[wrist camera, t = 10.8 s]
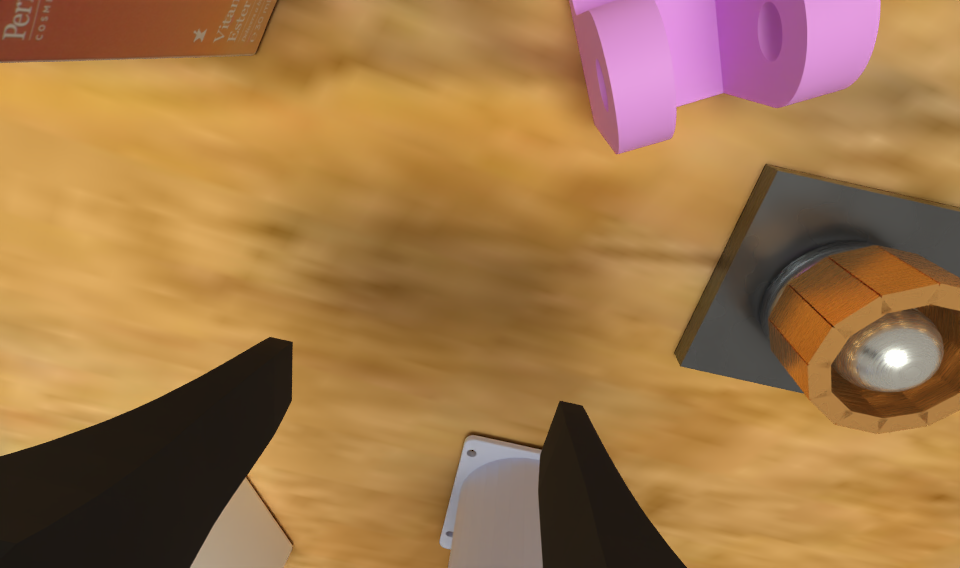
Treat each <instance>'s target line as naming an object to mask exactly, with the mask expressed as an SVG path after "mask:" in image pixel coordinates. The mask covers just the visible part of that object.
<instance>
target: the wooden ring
mask: <svg viewBox="0 0 960 568" xmlns="http://www.w3.org/2000/svg"><path fill="white" fill-rule="evenodd" d="M789 284H790V285H788V284H787V286H786V287H785V289H784V291H783V293H782V294H781V296H780V298H779V300H778V301H777V303H776V305H775V306H774V308H773V310H772V312H771V313H770V315H769V317H768V318H769V319H768V325H769V337H770V348H771V351H772V352H773V353H774V355H775V356H776V357H777V359H778V360H779V361H780V363H781V364H782V365H783V366H784V368H785V369H786V370H787V372H788V373H789V374H790V376H791V377H792V378H793V379H794V381H795V382H796V383H797V385H798V386H799V387H800V389H801V390H802V391H803V392H804V394H805V395H806V396H807V398H808V399H809V400H810V401H811V402H812V403H813V404H814V405H815V406H816V407H817V408H818V409H819V410H820V411H821V412H822V413H823V414H824V415H825V416H826V417H827V418H828V419H829V420H831V421H832V422H833V423H834V424H835V425H839V426H843V427H848V428H853V429H857V430H862V431H866V432H871V433H875V434H877V433H878V434H880V433H887V432H893V431H900V430H906V429H913V428H919V427H926V426H927V425H928V426H929V425H931V424H933V423H935V422H937V421H939V420H941V419H943V418H945V417H947V416H949V415H951V414H953V413H955V412H957V411H959V410H960V278H959V277H958V276H956V275H954V274H952V273H950V272H949V271H947V270H945V269H943V268H941V267H940V266H938V265H936V264H934V263H933V262H931V261H929V260H927V259H925V258H924V257H922V256H920V255H918V254H915V253H910V252H906V251H901V250H897V249H892V248H888V247H884V246H879V245H872V246H868V247H864V248H859V249H855V250H851V251H847V252H842V253H838V254H834V255H829V256H828V258H827V257H825V258H824V259H822V260H821V261H819V262H818V263H816V264H815V265H814V266H812V267H811V268H809V269H808V270H806V271H805V272H804V273H802V274H801V275H799V276H798V277H796V278H795V279H794V280H792V281H791V282H789ZM912 308H917V310H919V311H920V312H921V313H923V314H924V315H925V316H927V317H928V318H929V319H930V320H931V321H932V322H933V323H934V325H935V326H936V327H937V329H938V331H939V333H940V335H941V337H942V341H943V345H944V354H943V359H942V362H941V365H940V367H939V368H938V370H937V371H936V373H935V374H934V375H933V376H932V377H931V378H930V379H929V380H927V381H926V382H925V383H923V384H921V385H919V386H917V387H915V388H912V389H909V390H905V391H900V392H878V391H871V390H868V389H865V388H861V387H859V386H857V385H855V384H852V383H851V382H849V381H847V380H846V379H844V378H843V377H842V376H841V375H840V374H839V373H837V372H836V371H835V370H834V368H833V367H832V366H831V364H832V362H833V361H834V360H835V358H836V357H837V355H838V354H839V352H840V351H841V349H842V348H843V346H844V345H845V343H846V342H847V341H848V339H849V338H850V336H852V335H853V334H855V333H856V332H858V331H860V330H861V329H863V328H865V327H866V326H868V325H869V324H871V323H873V322H874V321H876V320H878V319H879V318H881V317H882V316H884V315H886V314H887V313H892V312H897V311H902V310H907V309H912Z"/></svg>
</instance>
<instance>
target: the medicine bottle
mask: <svg viewBox="0 0 960 568" xmlns="http://www.w3.org/2000/svg"><path fill="white" fill-rule="evenodd" d="M291 550H292V544H291V542H290V541H289V539H288V538H287V536H286V535H285V534H284V532H283V531H282V529H281V528H280V526H279V525H278V523H277V522H276V520H275V519H274V518H273V516H272V515H271V513H270V512H269V510H268V509H267V507H266V506H265V504H264V503H263V501H262V500H261V499H260V497H259V496H258V494H257V493H256V491H255V490H254V488H253V487H252V485H251V484H250V483H249V481H248V480H247V478H246V477H245V479H244V480H243V482H242V483H241V485H240V486H239V488H238V489H237V491H236V492H235V493H234V495H233V496H232V498H231V499H230V501H229V502H228V504H227V505H226V507H225V508H224V510H223V511H222V513H221V514H220V516H219V518H218V519H217V521H216V522H215V524H214V526H213V527H212V529H211V531H210V533H209V534H208V536H207V538H206V540H205V542H204V543H203V545H202V547H201V549H200V551H199V552H198V554H197V556H196V558H195V560H194V561H193V563H192V565H191V567H190V568H284V565H285V563H286V561H287V559H288V557H289V555H290V553H291Z"/></svg>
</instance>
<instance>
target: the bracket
mask: <svg viewBox="0 0 960 568" xmlns="http://www.w3.org/2000/svg"><path fill="white" fill-rule="evenodd" d="M569 3H570V8H571V13H572V18H573V22H574V27H575V32H576V37H577V42H578V47H579V51H580V56H581V61H582V66H583V71H584V76H585V81H586V85H587V90H588V95H589V100H590V105H591V110H592V114H593V119H594V124H595V126H596V127H597V129H598V130H599V131H600V133H601V134H602V135H603V137H604V138H605V140H606V141H607V142H608V144H609V145H610V147H611V148H612V149H613V151H614V152H615V153H616V154H620V153H623V152H627V151H630V150H634V149H637V148H641V147H644V146H648V145H651V144H655V143H658V142H662V141H665V140H668V139H671V138H672V136H673V134H674V130H675V125H676V107H678V106H681V105H685V104H688V103H691V102H695V101H698V100H701V99H705V98H708V97H711V96H715V95H718V94H721V93H726V94H729V95H733V96H736V97H740V98H743V99H747V100H750V101H754V102H757V103H761V104H764V105H768V106H771V107H775V108H779V107H783V106H787V105H790V104H794V103H797V102H801V101H804V100H808V99H811V98H815V97H818V96H822V95H825V94H829V93H832V92H836V91H839V90H842V89H845V88H847V87H849V86H850V85H851V84H853V83H854V82H855V81H856V80H857V79H858V78H859V76H860V75H861V74H862V72H863V71H864V69H865V67H866V65H867V63H868V61H869V59H870V57H871V54H872V52H873V48H874V45H875V42H876V37H877V33H878V27H879V19H880V0H569Z"/></svg>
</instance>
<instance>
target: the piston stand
mask: <svg viewBox="0 0 960 568" xmlns="http://www.w3.org/2000/svg"><path fill="white" fill-rule="evenodd" d="M872 245H879V246H884V247H888V248H892V249H897V250H901V251H906V252H910V253H915V254H918V255H920V256H922V257H924V258H925V259H927V260H929V261H931V262H933V263H934V264H936V265H938V266H940V267H941V268H943V269H945V270H947V271H949V272H950V273H952V274H954V275H956V276H958V277H959V278H960V208H958V207H954V206H950V205H945V204H941V203H936V202H932V201H927V200H923V199H918V198H914V197H910V196H905V195H901V194H896V193H892V192H887V191H883V190H878V189H874V188H870V187H865V186H861V185H856V184H852V183H847V182H843V181H838V180H834V179H830V178H825V177H821V176H816V175H812V174H807V173H803V172H798V171H794V170H790V169H785V168H781V167H776V166H772V165H767V164H766V165H765V167H764V169H763V171H762V173H761V176H760V178H759V180H758V182H757V184H756V186H755V188H754V190H753V192H752V194H751V196H750V198H749V200H748V202H747V204H746V207H745V209H744V211H743V213H742V215H741V217H740V219H739V221H738V223H737V225H736V227H735V229H734V231H733V233H732V235H731V237H730V240H729V242H728V244H727V246H726V248H725V250H724V252H723V254H722V256H721V258H720V260H719V262H718V264H717V266H716V268H715V270H714V273H713V275H712V277H711V279H710V281H709V283H708V285H707V287H706V289H705V291H704V293H703V295H702V297H701V299H700V301H699V304H698V306H697V308H696V310H695V312H694V314H693V316H692V318H691V320H690V322H689V324H688V326H687V328H686V330H685V332H684V334H683V337H682V339H681V341H680V343H679V345H678V347H677V349H676V351H675V355H676V358H677V360H678V362H679V364H680V366H682V367H686V368H691V369H695V370H700V371H704V372H709V373H713V374H718V375H722V376H727V377H731V378H736V379H740V380H745V381H750V382H754V383H759V384H763V385H768V386H772V387H777V388H781V389H786V390H790V391H795V392H799V393H804V392H803V391H802V390H801V389H800V387H799V386H798V385H797V383H796V382H795V381H794V379H793V378H792V377H791V376H790V374H789V373H788V372H787V370H786V369H785V368H784V366H783V365H782V364H781V363H780V361H779V360H778V359H777V357H776V356H775V355H774V353H773V352H772V351H771V348H770V337H769V325H768V319H769V318H768V317H769V315H770V313H771V312H772V310H773V308H774V306H775V305H776V303H777V301H778V300H779V298H780V296H781V294H782V293H783V291H784V289H785V287H786V286H787V284H788V285H790V284H789V282H791V281H792V280H794V279H795V278H796V277H798V276H799V275H801V274H802V273H804V272H805V271H806V270H808V269H809V268H811V267H812V266H814V265H815V264H816V263H818V262H819V261H821V260H822V259H824V258H825V257H827V258H828V256H829V255H834V254H838V253H842V252H847V251H851V250H855V249H859V248H864V247H868V246H872ZM943 354H944V345H943V341H942V337H941V335H940V333H939V331H938V329H937V327H936V326H935V325H934V323H933V322H932V321H931V320H930V319H929V318H928V317H927V316H925V315H924V314H923V313H921V312H920V311H919V310H917V308H912V309H907V310H902V311H897V312H892V313H887V314H886V315H884V316H882V317H881V318H879V319H878V320H876V321H874V322H873V323H871V324H869V325H868V326H866V327H865V328H863V329H861V330H860V331H858V332H856V333H855V334H853V335H852V336H850V338H849V339H848V341H847V342H846V343H845V345H844V346H843V348H842V349H841V351H840V352H839V354H838V355H837V357H836V358H835V360H834V361H833V362H832V364H831V366H832V367H833V368H834V370H835V371H836V372H837V373H839V374H840V375H841V376H842V377H843V378H844V379H846V380H847V381H849V382H851V383H852V384H855V385H857V386H859V387H861V388H865V389H868V390H871V391H878V392H900V391H905V390H909V389H912V388H915V387H917V386H919V385H921V384H923V383H925V382H926V381H927V380H929V379H930V378H931V377H932V376H933V375H934V374H935V373H936V371H937V370H938V368H939V367H940V365H941V362H942V359H943Z"/></svg>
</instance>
